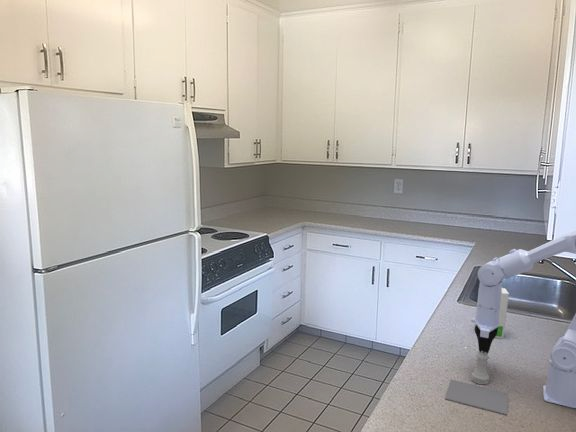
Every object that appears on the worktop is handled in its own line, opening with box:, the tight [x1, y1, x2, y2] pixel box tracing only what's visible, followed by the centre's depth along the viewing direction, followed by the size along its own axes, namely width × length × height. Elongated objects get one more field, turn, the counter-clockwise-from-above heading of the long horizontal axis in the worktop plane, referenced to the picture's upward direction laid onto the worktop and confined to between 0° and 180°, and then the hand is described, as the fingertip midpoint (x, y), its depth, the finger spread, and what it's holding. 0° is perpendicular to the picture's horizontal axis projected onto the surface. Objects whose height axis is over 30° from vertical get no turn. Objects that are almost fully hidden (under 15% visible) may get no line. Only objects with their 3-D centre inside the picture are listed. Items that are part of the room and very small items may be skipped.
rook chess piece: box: [471, 350, 490, 386], centre depth 125 cm, size 4×4×8 cm
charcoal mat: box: [444, 379, 509, 416], centre depth 118 cm, size 14×10×1 cm
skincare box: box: [474, 287, 510, 340], centre depth 155 cm, size 8×7×16 cm
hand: (483, 352), depth 129 cm, fingers closed
